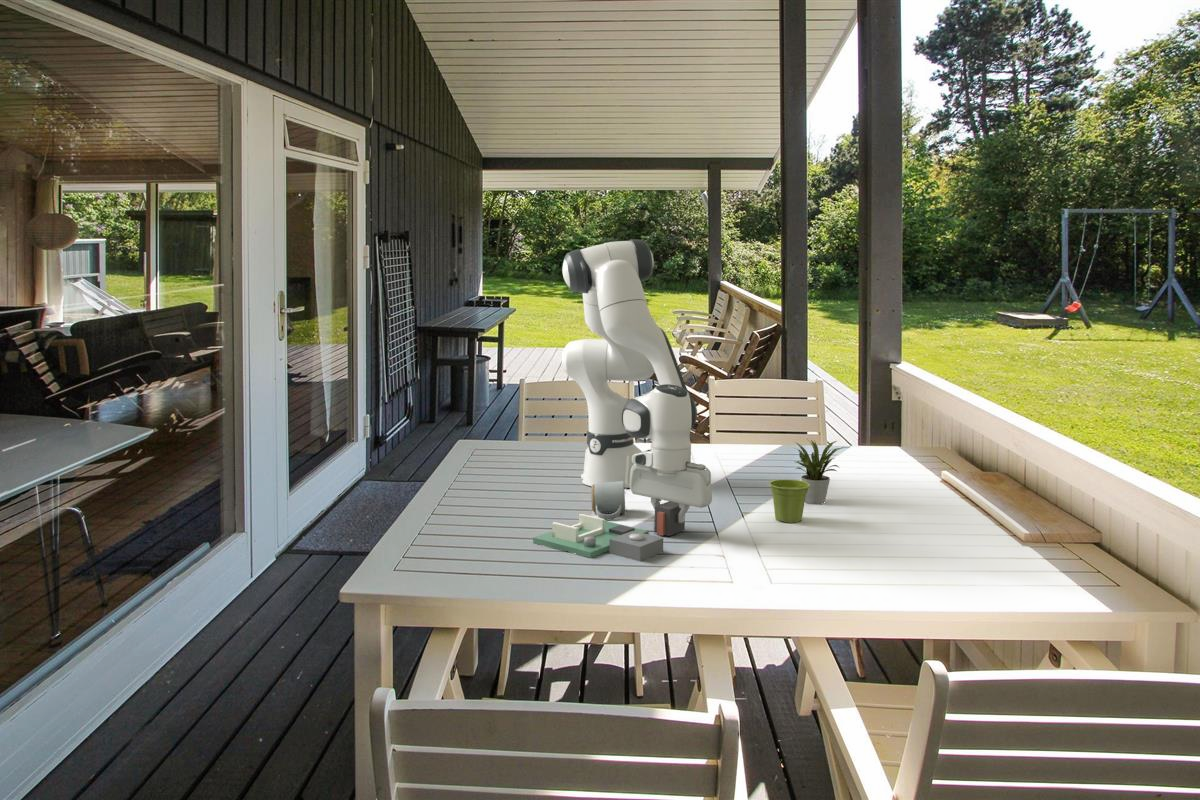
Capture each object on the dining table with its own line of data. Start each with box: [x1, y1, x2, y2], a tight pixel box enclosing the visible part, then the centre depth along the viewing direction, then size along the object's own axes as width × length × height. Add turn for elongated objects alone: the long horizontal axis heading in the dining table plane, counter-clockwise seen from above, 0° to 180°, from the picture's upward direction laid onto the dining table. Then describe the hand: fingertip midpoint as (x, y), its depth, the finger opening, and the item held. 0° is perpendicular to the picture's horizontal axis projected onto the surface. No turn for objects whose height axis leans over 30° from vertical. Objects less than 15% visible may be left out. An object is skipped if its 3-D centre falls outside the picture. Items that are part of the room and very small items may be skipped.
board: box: [532, 513, 650, 559], centre depth 208 cm, size 20×16×4 cm
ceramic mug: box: [590, 481, 626, 520], centre depth 228 cm, size 11×8×8 cm
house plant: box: [793, 438, 851, 505], centre depth 240 cm, size 14×14×16 cm
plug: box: [653, 501, 686, 537], centre depth 213 cm, size 7×4×6 cm, turn 141°
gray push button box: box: [608, 531, 664, 562], centre depth 199 cm, size 8×8×4 cm
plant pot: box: [768, 478, 810, 524], centre depth 224 cm, size 9×9×9 cm
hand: (669, 519), depth 214 cm, fingers closed on plug, 4 cm apart
